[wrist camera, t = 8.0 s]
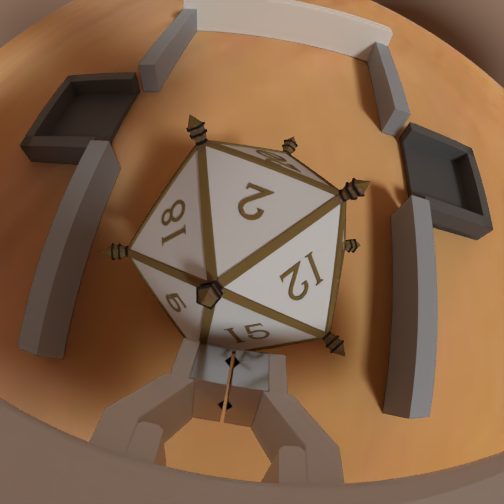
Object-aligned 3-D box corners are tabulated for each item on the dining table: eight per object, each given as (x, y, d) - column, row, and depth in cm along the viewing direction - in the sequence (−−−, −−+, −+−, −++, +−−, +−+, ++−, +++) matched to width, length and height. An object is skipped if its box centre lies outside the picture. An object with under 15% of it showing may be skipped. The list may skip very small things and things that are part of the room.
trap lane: (-27, 318, 12) (-70, 302, 8) (131, 25, 23) (126, -6, 19) (479, 404, 13) (525, 403, 9) (430, 79, 24) (446, 52, 20)
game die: (207, 280, 18) (126, 125, 12) (350, 248, 16) (312, 62, 10) (184, 425, 11) (-1, 248, 5) (394, 400, 10) (411, 111, 4)
